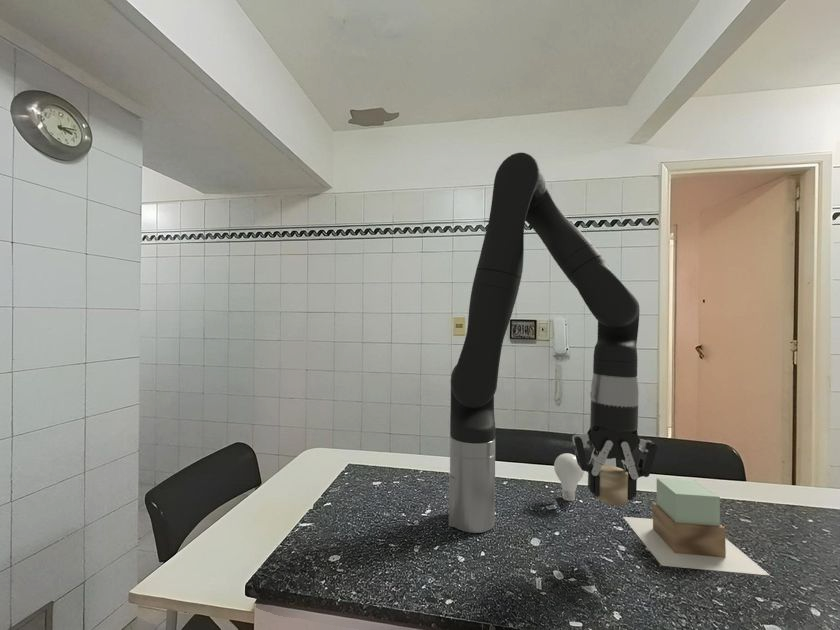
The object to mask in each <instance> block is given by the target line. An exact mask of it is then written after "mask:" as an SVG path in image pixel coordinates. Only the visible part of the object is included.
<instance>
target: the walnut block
mask: <svg viewBox="0 0 840 630" xmlns="http://www.w3.org/2000/svg"><path fill="white" fill-rule="evenodd" d="M652 519H653V529H654V530H655V532H656V533H657V534H658V535H659V536H660V537H661V538H662V539H663V540H664V542H665V543H666V544H667V545H668V546H669V547H670V548H671V549H672V550H673V552H674V553H679V554H690V555H702V556H713V557H724V558H726V548H725V538H726V527H725V526H724V525H722V524H721V523H720V526H712V525H699V524H686V523H676V522H675V521H674V520H673V519H672V518H671V517H670V516H669V515H668V514H667V513H666V512H665V511H663V510H662V509H661V508H660V507H659V506H658V505H657V502H652Z"/></svg>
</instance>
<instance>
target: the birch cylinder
mask: <svg viewBox="0 0 840 630" xmlns="http://www.w3.org/2000/svg"><path fill="white" fill-rule="evenodd" d="M598 475H599V497H596V499H597V500H599V501H600V502H602V503H604V504H607V505H610V506H615V507H616V506H617V507H622V506H623V507H625V506H626V505H628V501H629V500H628V472H627V471H625V469H623V468H621V467H617V466H615V465H614V466H613V465H607V464H606V465H605V464H604V465H602V467H601V469H600V471H599V474H598Z"/></svg>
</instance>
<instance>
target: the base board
mask: <svg viewBox="0 0 840 630" xmlns="http://www.w3.org/2000/svg"><path fill="white" fill-rule="evenodd" d="M622 518H623V520H625V522H626V524H628V525H629V527H630V528H631V529H632V530H633V532H634V533H635V534H636V535H637V537H638V538H639V539H640V540H641V542H642V543H643V544H644V546H645V547H646V548H647V549H648V551H649V552H650V553H651V554H652V555H653V557H654V558H655V559H656V561H657V562H658V563H659V564H660V565H661V566H662V567H671V568H672V567H673V568H684V569H695V570H703V571H705V570H706V571H715V572H716V571H717V572H726V573H738V574H749V575H759V576H771V575H770V573H768V572H767V571H766V570H765V569H764V568H762V567H761V566H760V565H758V564H757V563H756V562H755V561H753V559H751V558H750V557H749V556H748V555H747V554H745V553H744V552H743V551H742V550H741V549H739V548H738V547H737V546H735V545H734V544H733V543H732V542H731V541H730V540H728V539H727V538H726V537H725V548H726V558H724V557H713V556H702V555H690V554H679V553H674V552H673V550H672V549H671V548H670V547H669V546H668V545H667V544H666V543H665V542H664V540H663V539H662V538H661V537H660V536H659V535H658V534H657V533H656V532H655V530H654V529H653V518H643V517H631V516H630V517H629V516H622Z"/></svg>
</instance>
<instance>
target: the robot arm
mask: <svg viewBox="0 0 840 630" xmlns="http://www.w3.org/2000/svg"><path fill="white" fill-rule="evenodd" d="M492 189H493V190H492V197H491V204H490V211H489V217H488V222H487V228H486V231H485V234H484V238H483V243H482V246H481V250H480V254H479V259H478V262H477V265H476V270H475V274H474V278H473V282H472V287H471V292H470V299H469V306H468V307H469V308H468V317H467V318H468V319H467V329H466V334H465V339H464V342H463V344H462V345H463V346H462V349H461V351H460V354H459V358H458V360H457V363H456V365H455V366H454V368H453V370H452V371H451V374H450V375H451V376H450V414H449V415H450V417H449V419H450V423H449V435H450V437H449V438H450V439H449V441H450V442H449V446H450V447H449V477H448V527H450V528H455V529H457V530H459V531H462V532H465V533H473V534H477V533H478V534H479V533H485V532H489V531H490V530H492V529H493V528H494V526H495V524H496V523H495V520H496V421H495V418H496V417H495V394H496V392H497V387H498V378H499V370H500V362H501V361H500V360H501V354H502V349H503V343H504V339H505V337H506V336H505V335H506V333H507V331H508V327H509V324H510V321H511V318H512V314H513V312H514V308H515V305H516V301H517V297H518V294H519V290H520V284H521V281H522V280H521V279H522V276H523V272H524V271H523V270H524V258H525V257H524V255H525V254H524V253H525V252H524V249H525V247H524V246H525V245H524V244H525V243H524V237H525V234H524V232H525V226H526V225H525V224H526V223H527V224H528V226H530V227H531V228H532V230H534V232H535V233H536V234H537V236H538V237H539V238H540V240H541V242H542V243H543V244H544V245H545V246H544V247H546V249H547V251H548V253H549V254H550V255H551V256H552V258H553V260H554V261H555V262H556V264H557V266H558V267H559V268H560V269H561V271H562V272H563V274H564V275H565V276H566V278H567V279H568V281H570V283H571V284H572V285H573V286H574V287H575V289H577V291H578V293H579V295H580V297H581V298H582V300H583V302H584V303H585V304H586V306H587V308H588V310H589V311H590V313H591V314H592V315H593V317H594V318H595V319H596V320H597V340H596V343H595V346H594V350H593V361H592V362H593V366H592V368H593V371H592V380H591V384H590V385H591V386H590V394H589V396H590V417H589V419H590V421H589V423H590V424H589V425H590V427H589V429H588V431H587V432H586V433H584V434H577V433H572V435H571V440H572V445H573V448H574V455H575V456H576V459H577V464H578V465H579V467H580V468H581V469H582V470H583V471H584V472H587V488H588V490H589V492H590V493H591V494H592V496H593V497H599V475H598V474H599V471H600V469H601V467H602V465H605V463H606V460H610V459H611V460H612V459H616V460H619V461H621V462H622V466H623V468H624V470H625V471H627V472H628V501H633V500H634V498H636V497H637V490H638V489H637V486H638V485H637V483H638V479H639V478H642V477H644V478H648V477H649V476H650V473H651V471H652V466H653V464H654V460H655V457H656V454H657V450H658V446H657V444H656V443H655V442H653V441H652V440H650V439H644V438H643V439H642V438H640V436H639V435H638V434H639V433H638V427H639V393H640V392H639V382H638V349H637V342H638V334H639V325H640V312H641V311H640V304H639V301H638V299H637V298H636V297H635V295H634V294H633V292H631V291H630V290H629V289H628V288H627V286H626V285H625V284H624V283H623V282H622V280H620V278H619V277H618V276H617V275H616V274H615V273H614V272H613V271H612V270H611V269H610V267H609V264H608V263H607V261H606V260H605V258H604V257H603V256H602V254H601V253H600V252H599V250H597V248H596V247H595V245H593V243H592V242H591V241H590V239H589V238H588V237H587V236H586V235H585V234H584V233H583V232H582V231H581V230H580V229H579V228H578V227H577V226H576V225H574V224H573V223H572V221H570V220H569V219H568V218H567V217H566V216H565V214H564V213H563V212H562V211H561V209H559V207H558V205H557V204H556V202H555V201H554V199H553V197H552V195H551V193H550V191H549V189H548V186H547V185H546V179H545V176H544V173H543V170H542V168H541V166H540V164H539V163H538V161H537V160H536V158H534V156H533V155H530V154H529V153H526V152H521V151H520V152H516V153H513V154H511V155H509V156H508V157H506V158H505V159H504V160H503V161H502V162H501V164H500V165H499V167H498V168H497V170H496V173H495V176H494V181H493V188H492ZM588 442H590V443H591V445H592V447H593V450H592V453H591V456H590V460H589V462H587V461H588V460H587V457H586V453H585V452H586V451H585V448H586V447H587V445H588ZM636 448H639V451H640V452H639V453H640V454H639V457H638V461H637V465H636V462H635V460H634V457H633V454H632V453H633V452H634V451H635V450H636Z"/></svg>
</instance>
